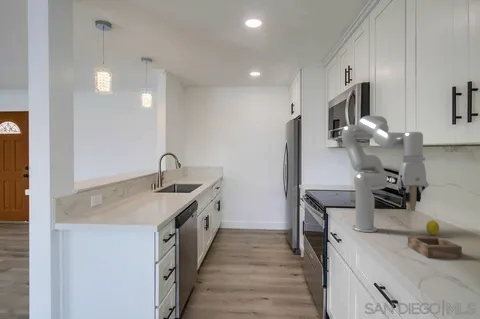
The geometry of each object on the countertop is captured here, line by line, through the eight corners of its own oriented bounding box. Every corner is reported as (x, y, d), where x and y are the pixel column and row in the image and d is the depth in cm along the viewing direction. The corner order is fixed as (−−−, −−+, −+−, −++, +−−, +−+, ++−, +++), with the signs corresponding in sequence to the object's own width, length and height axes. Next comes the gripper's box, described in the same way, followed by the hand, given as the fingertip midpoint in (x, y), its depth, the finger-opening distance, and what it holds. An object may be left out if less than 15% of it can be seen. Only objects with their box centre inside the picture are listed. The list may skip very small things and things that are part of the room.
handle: (401, 208, 135) (403, 175, 134) (417, 209, 134) (419, 176, 132) (403, 210, 131) (405, 177, 130) (420, 212, 129) (422, 178, 128)
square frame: (407, 246, 135) (407, 236, 135) (438, 246, 136) (438, 236, 135) (427, 257, 121) (428, 247, 121) (461, 257, 122) (461, 246, 121)
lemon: (436, 237, 149) (436, 221, 149) (424, 235, 153) (424, 219, 153) (440, 235, 152) (441, 220, 152) (428, 233, 157) (429, 218, 156)
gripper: (426, 159, 135) (425, 200, 135) (389, 159, 135) (388, 200, 135) (437, 160, 127) (436, 202, 127) (398, 160, 127) (397, 202, 128)
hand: (412, 201), depth 131 cm, fingers closed on handle, 4 cm apart
